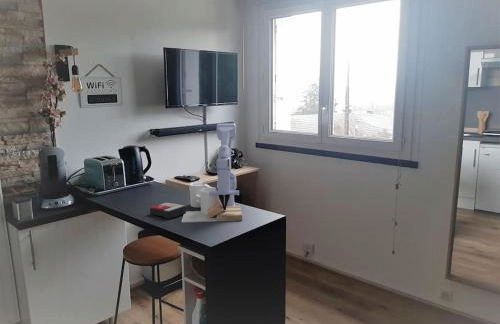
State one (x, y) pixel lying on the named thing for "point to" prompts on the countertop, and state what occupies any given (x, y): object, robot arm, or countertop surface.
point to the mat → (197, 217)
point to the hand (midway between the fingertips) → (224, 209)
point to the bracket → (202, 196)
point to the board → (230, 214)
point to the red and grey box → (168, 210)
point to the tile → (215, 209)
